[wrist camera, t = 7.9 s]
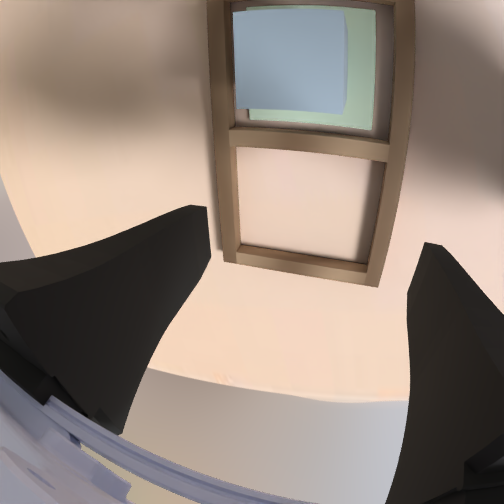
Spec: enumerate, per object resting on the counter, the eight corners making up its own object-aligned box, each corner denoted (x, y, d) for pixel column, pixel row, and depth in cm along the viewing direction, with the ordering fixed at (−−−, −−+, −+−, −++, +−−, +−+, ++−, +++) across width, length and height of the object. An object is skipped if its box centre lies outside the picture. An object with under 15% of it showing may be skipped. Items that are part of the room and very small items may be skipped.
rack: (394, -112, 5) (395, -119, 4) (377, 278, 20) (378, 287, 20) (212, -107, 8) (206, -112, 7) (228, 253, 23) (223, 261, 23)
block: (347, 30, 12) (343, 10, 8) (346, 99, 15) (342, 114, 10) (273, 28, 14) (232, 12, 9) (274, 94, 16) (236, 108, 11)
